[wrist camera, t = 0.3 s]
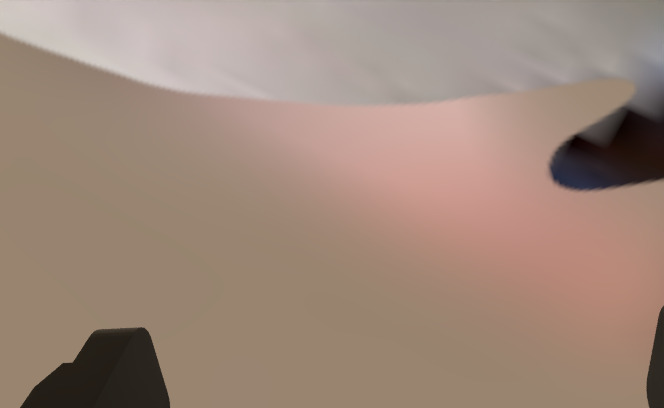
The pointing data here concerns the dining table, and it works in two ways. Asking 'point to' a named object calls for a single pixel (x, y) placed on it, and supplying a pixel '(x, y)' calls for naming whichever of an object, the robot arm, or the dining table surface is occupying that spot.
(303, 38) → the dining table surface
